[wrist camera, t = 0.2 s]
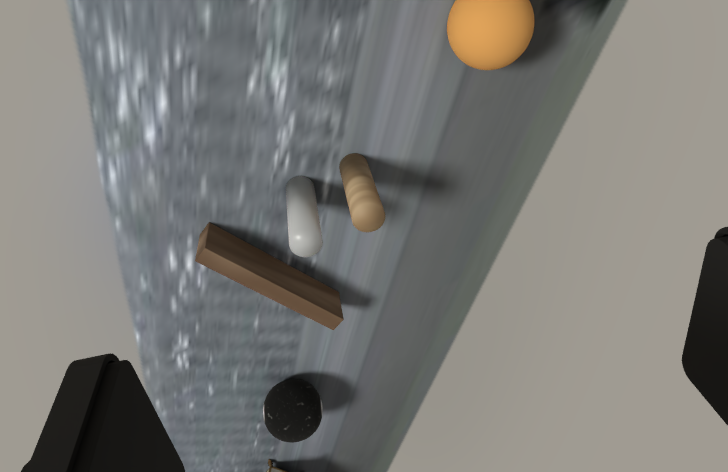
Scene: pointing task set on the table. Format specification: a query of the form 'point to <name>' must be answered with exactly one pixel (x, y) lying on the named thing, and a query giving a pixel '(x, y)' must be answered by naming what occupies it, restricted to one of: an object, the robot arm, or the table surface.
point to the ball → (490, 31)
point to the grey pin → (303, 217)
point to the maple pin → (361, 193)
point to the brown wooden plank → (268, 276)
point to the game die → (273, 468)
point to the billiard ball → (292, 410)
